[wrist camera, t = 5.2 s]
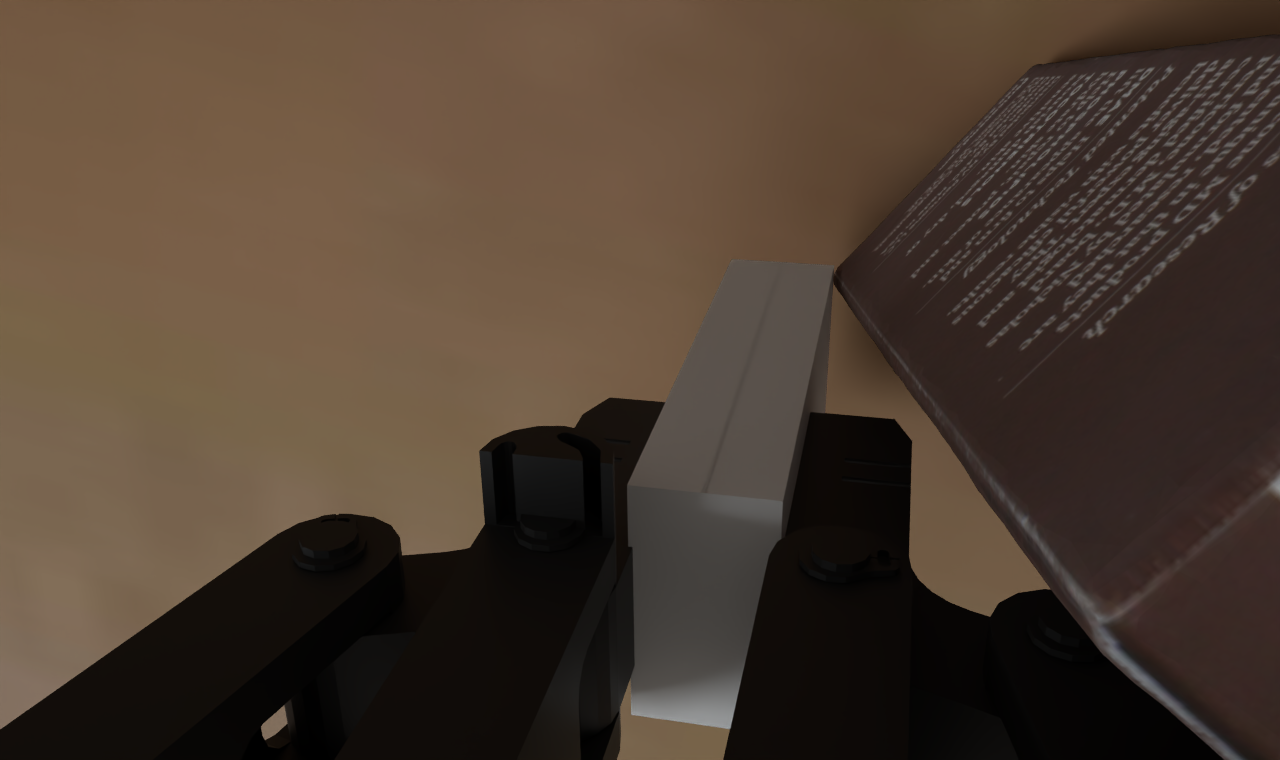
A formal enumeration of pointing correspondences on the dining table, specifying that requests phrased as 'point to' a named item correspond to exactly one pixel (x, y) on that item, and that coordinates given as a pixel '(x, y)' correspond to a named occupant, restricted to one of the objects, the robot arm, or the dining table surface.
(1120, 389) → the box
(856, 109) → the dining table surface
